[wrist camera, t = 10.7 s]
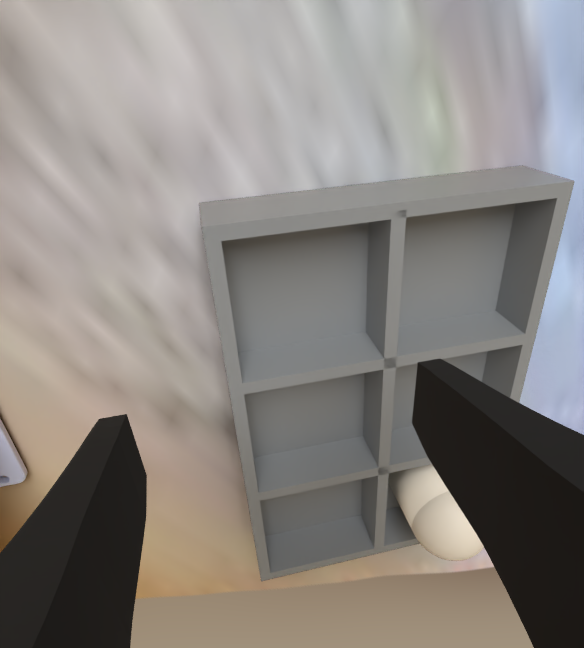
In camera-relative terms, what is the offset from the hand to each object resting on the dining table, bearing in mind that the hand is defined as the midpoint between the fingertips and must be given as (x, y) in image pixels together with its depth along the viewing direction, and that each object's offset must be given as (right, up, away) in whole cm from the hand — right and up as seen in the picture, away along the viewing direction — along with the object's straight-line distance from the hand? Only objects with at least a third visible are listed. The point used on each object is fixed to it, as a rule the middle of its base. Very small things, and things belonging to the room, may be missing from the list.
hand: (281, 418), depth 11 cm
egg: (+8, -7, +17) cm, 20 cm away
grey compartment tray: (+4, -1, +14) cm, 14 cm away
